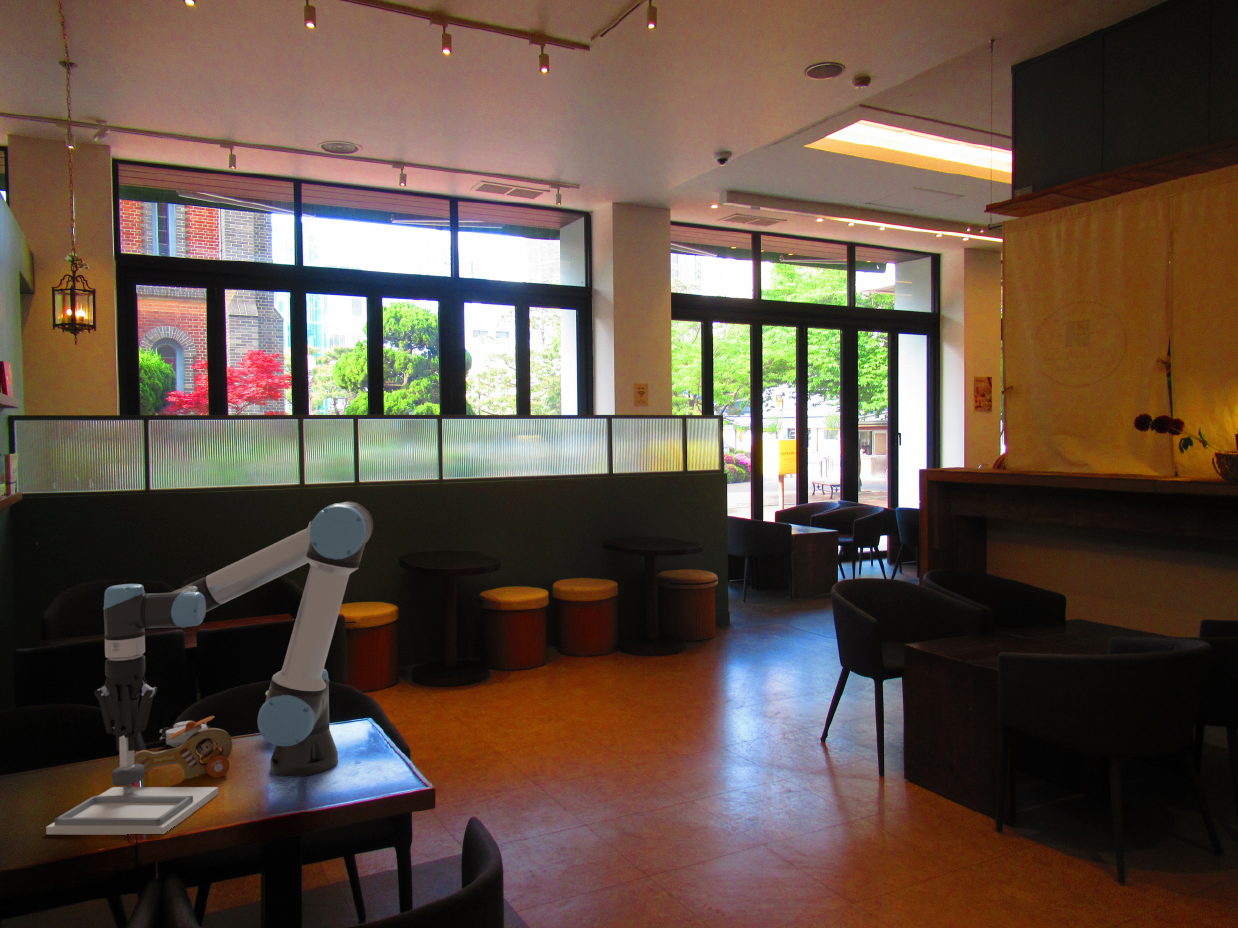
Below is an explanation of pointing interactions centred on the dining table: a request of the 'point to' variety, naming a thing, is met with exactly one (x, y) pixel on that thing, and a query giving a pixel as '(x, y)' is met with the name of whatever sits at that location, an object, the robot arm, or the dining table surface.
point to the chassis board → (132, 811)
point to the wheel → (128, 774)
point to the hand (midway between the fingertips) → (127, 764)
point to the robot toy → (179, 739)
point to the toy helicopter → (193, 752)
